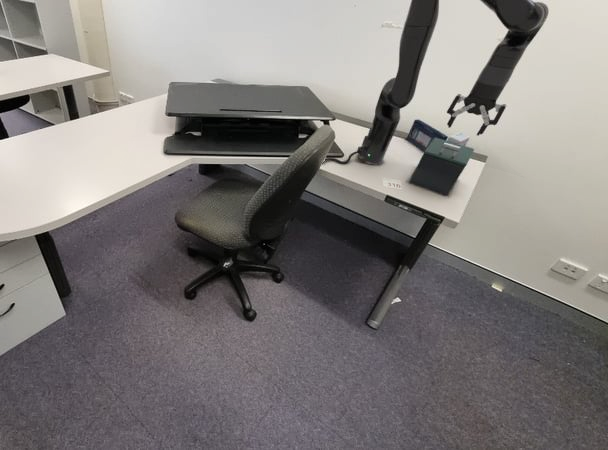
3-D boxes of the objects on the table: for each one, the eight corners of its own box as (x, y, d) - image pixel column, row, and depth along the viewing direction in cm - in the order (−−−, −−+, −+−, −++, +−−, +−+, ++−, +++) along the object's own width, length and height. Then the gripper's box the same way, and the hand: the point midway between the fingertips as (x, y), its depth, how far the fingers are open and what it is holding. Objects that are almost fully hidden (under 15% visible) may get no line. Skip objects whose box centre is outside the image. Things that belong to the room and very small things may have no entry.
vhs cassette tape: (405, 139, 158) (414, 119, 152) (411, 138, 159) (420, 119, 152) (431, 158, 145) (442, 137, 138) (437, 157, 145) (448, 136, 139)
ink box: (446, 166, 139) (460, 141, 132) (434, 161, 142) (448, 136, 135) (456, 161, 143) (471, 136, 135) (445, 156, 146) (459, 131, 138)
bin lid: (465, 166, 113) (473, 153, 110) (423, 153, 120) (430, 140, 117) (473, 150, 123) (480, 138, 120) (434, 139, 130) (440, 127, 127)
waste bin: (446, 196, 123) (465, 166, 114) (408, 182, 129) (423, 153, 121) (455, 179, 132) (473, 150, 123) (419, 167, 138) (434, 139, 130)
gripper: (463, 78, 101) (437, 128, 112) (518, 89, 94) (486, 141, 105) (467, 73, 106) (442, 121, 116) (521, 83, 99) (489, 133, 109)
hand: (463, 130), depth 111 cm, fingers open, 8 cm apart
